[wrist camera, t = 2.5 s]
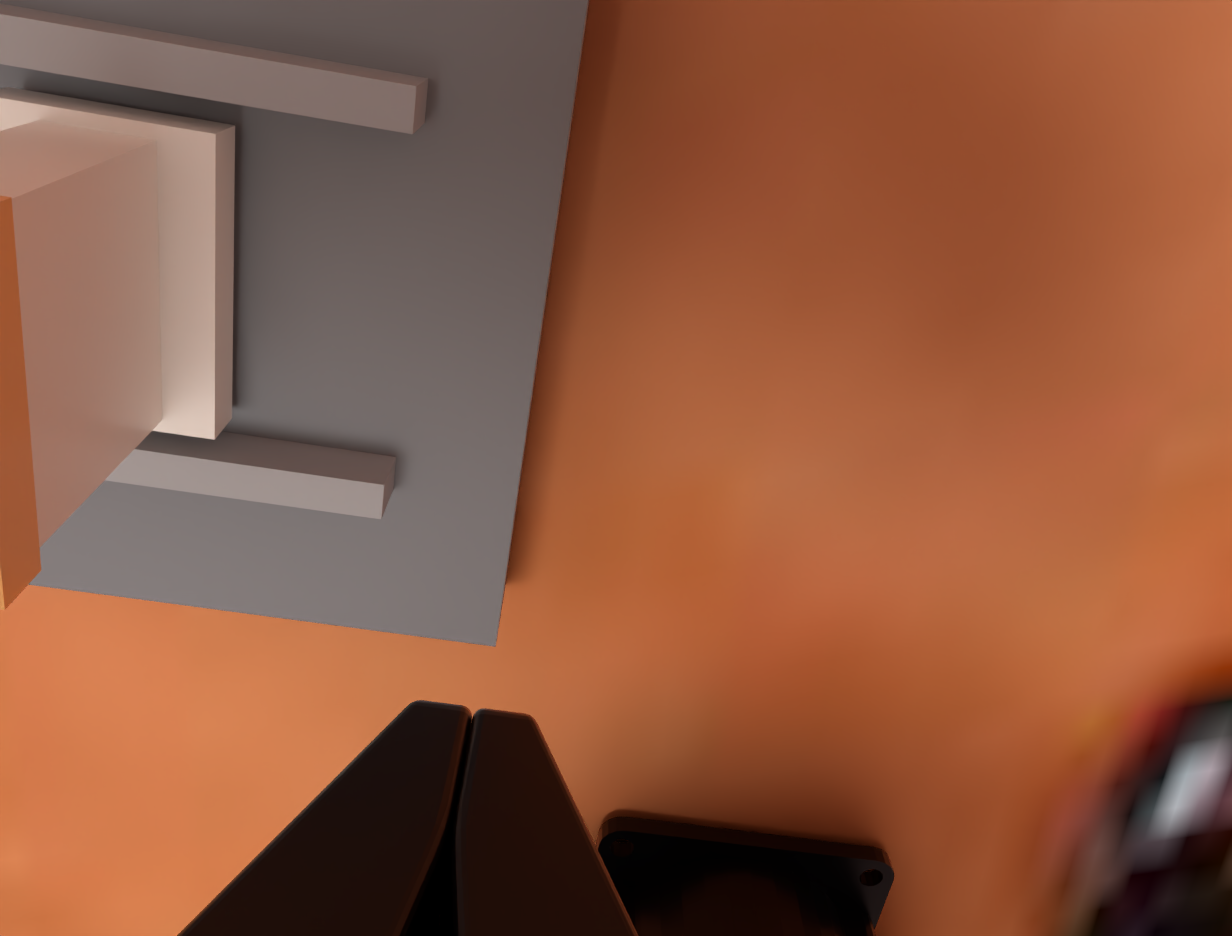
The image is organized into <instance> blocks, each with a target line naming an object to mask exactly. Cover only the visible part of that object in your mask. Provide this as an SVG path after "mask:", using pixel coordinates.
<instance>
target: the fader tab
mask: <svg viewBox="0 0 1232 936" xmlns="http://www.w3.org/2000/svg"><path fill="white" fill-rule="evenodd" d="M234 182H235V125H231V124H225V123H219V122H213V121H207V120H201V119H195V118H189V117H183V116H177V115H171V114H165V113H159V112H154V111H148V110H142V109H136V108H130V107H124V106H118V105H112V104H106V103H100V102H94V101H88V100H82V99H77V98H71V97H65V96H59V95H53V94H47V93H41V92H35V91H29V90H23V89H17V88H11V87H6V88H1V89H0V609H2V610H5V609H6V608H7V607H8V606H9V605H10V604H11V603H12V601H13V600H14V599H15V598H16V597H17V596H18V595H19V594H20V593H21V592H22V591H23V590H24V588H25V587H26V586H27V585H28V584H29V583H30V582H31V581H32V580H33V579H34V578H35V577H36V575H37V574H38V573H39V572H40V571H41V560H40V547H41V546H42V545H43V544H44V543H45V542H46V540H47V539H48V538H49V537H50V536H51V535H52V534H53V533H54V532H55V531H56V530H57V529H58V528H59V527H60V526H61V525H62V524H63V523H64V522H65V521H66V520H67V519H68V518H69V517H70V516H71V514H72V513H73V512H74V511H75V510H76V509H77V508H78V507H79V506H80V505H81V504H82V503H83V502H84V501H85V500H86V499H87V498H88V497H89V496H90V495H91V494H92V493H93V492H94V491H95V490H96V488H97V487H98V486H99V485H100V484H101V483H102V482H103V481H104V480H105V479H106V478H107V477H108V476H109V475H110V474H111V473H112V472H113V471H114V470H115V469H116V468H117V467H118V466H119V465H120V463H121V462H122V461H123V460H124V459H125V458H126V457H127V456H128V455H129V454H130V453H131V452H132V451H133V450H134V449H135V448H136V447H137V446H138V445H139V444H140V443H141V442H142V441H143V440H144V439H145V437H146V436H147V435H148V434H149V433H150V432H151V431H158V432H165V433H172V434H179V435H185V436H192V437H199V438H206V439H213V440H215V439H216V437H217V436H218V435H219V434H220V433H221V431H222V430H223V429H224V428H225V426H226V425H227V424H228V423H229V421H230V420H231V419H232V371H233V277H234Z"/></svg>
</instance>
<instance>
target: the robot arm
mask: <svg viewBox="0 0 1232 936" xmlns="http://www.w3.org/2000/svg"><path fill="white" fill-rule="evenodd" d="M471 721H472V723H471ZM618 839H625V840H628V841H627V842H624V843H619V842H616V840H618ZM868 869H874V870H872V871H870V872H864V871H866V870H868ZM893 880H894V872H893V868H892V865H891V862H890V859H889V857H888V855H887V853H886V852H884V851H883V850H882V849H879V848H876V847H870V846H862V845H854V844H846V843H837V842H829V841H821V840H813V839H804V838H796V837H788V836H780V835H771V834H763V833H755V832H747V831H738V830H730V829H722V828H714V827H705V826H697V825H689V824H681V823H673V822H664V821H656V820H648V819H640V818H631V817H615V818H612V819H609V820H608V821H606V822H605V823H604V824H603V825H602V826H601V828H600V830H599V833H598V838H597V842H596V846H595V844H594V842H593V839H592V837H591V835H590V833H589V831H588V829H587V827H586V825H585V823H584V821H583V818H582V816H581V814H580V812H579V810H578V808H577V806H576V804H575V802H574V800H573V797H572V795H571V793H570V791H569V789H568V787H567V785H566V783H565V781H564V779H563V776H562V774H561V772H560V770H559V768H558V766H557V764H556V762H555V760H554V758H553V755H552V753H551V751H550V749H549V747H548V745H547V743H546V741H545V739H544V736H543V734H542V732H541V730H540V728H539V726H538V724H537V722H536V721H535V719H534V718H533V717H532V716H530V715H528V714H524V713H516V712H508V711H501V710H493V709H480V710H478V711H476V713H475V714H474V715H473V718H472V714H471V712H470V710H469V709H468V708H467V707H465V706H462V705H454V704H447V703H439V702H431V701H424V700H419V701H415V702H412V703H410V704H409V705H408V706H407V707H406V708H405V709H404V710H403V711H402V712H401V713H400V714H399V715H398V716H397V717H396V718H395V719H394V720H393V721H392V722H391V723H390V724H389V725H388V726H387V727H386V728H385V729H384V730H383V731H382V732H381V733H380V734H379V735H378V736H377V737H376V738H375V739H374V740H373V741H372V742H371V743H370V744H369V745H368V746H367V747H366V748H365V749H364V750H363V751H362V752H361V753H360V754H359V755H358V756H357V757H356V758H355V759H354V760H353V761H352V762H351V763H350V764H349V765H348V766H347V767H346V768H345V769H344V770H343V771H342V772H341V773H340V774H339V775H338V776H337V777H336V778H335V779H334V780H333V781H332V782H331V783H330V784H329V785H328V786H327V787H326V788H325V789H324V790H323V791H322V792H321V793H320V794H319V795H318V796H317V797H316V798H315V799H314V800H313V801H312V802H311V803H310V804H309V805H308V806H307V807H306V808H305V809H304V810H303V811H302V812H301V813H300V814H299V815H298V816H297V817H296V818H295V819H294V820H293V821H292V822H291V823H290V824H289V825H288V826H287V827H286V828H285V829H284V830H283V831H282V832H281V833H280V834H279V835H278V836H277V837H275V838H274V839H273V840H272V841H271V842H270V843H269V844H268V845H267V846H266V847H265V848H264V849H263V850H262V851H261V852H260V853H259V854H258V855H257V856H256V857H255V858H254V859H253V860H252V861H251V862H250V863H249V864H248V865H247V866H246V867H245V868H244V869H243V870H242V871H241V872H240V873H239V874H238V875H237V876H236V877H235V878H234V879H233V880H232V881H231V882H230V883H229V884H228V885H227V886H226V887H225V888H224V889H223V890H222V891H221V892H220V893H219V894H218V895H217V896H216V897H215V898H214V899H213V900H212V901H211V902H210V903H209V904H208V905H207V906H206V907H205V908H204V909H203V910H202V911H201V912H200V913H199V914H198V915H197V916H196V917H195V918H194V919H193V920H192V921H191V922H190V923H189V924H188V925H187V926H186V927H185V928H184V929H183V930H182V931H181V932H180V933H179V934H178V935H177V936H876V934H875V931H874V929H875V927H876V924H877V922H878V919H879V916H880V914H881V911H882V909H883V906H884V904H885V901H886V898H887V896H888V893H889V891H890V888H891V885H892V883H893Z"/></svg>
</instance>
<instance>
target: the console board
mask: <svg viewBox="0 0 1232 936" xmlns="http://www.w3.org/2000/svg"><path fill="white" fill-rule="evenodd" d="M588 6H589V0H0V89H1V88H6V87H11V88H17V89H23V90H29V91H35V92H41V93H47V94H53V95H59V96H65V97H71V98H77V99H82V100H88V101H94V102H100V103H106V104H112V105H118V106H124V107H130V108H136V109H142V110H148V111H154V112H159V113H165V114H171V115H177V116H183V117H189V118H195V119H201V120H207V121H213V122H219V123H225V124H231V125H235V182H234V277H233V371H232V419H231V420H230V421H229V423H228V424H227V425H226V426H225V428H224V429H223V430H222V431H221V433H220V434H219V435H218V436H217V437H216V439H215V440H213V439H206V438H199V437H192V436H185V435H179V434H172V433H165V432H158V431H151V432H150V433H149V434H148V435H147V436H146V437H145V439H144V440H143V441H142V442H141V443H140V444H139V445H138V446H137V447H136V448H135V449H134V450H133V451H132V452H131V453H130V454H129V455H128V456H127V457H126V458H125V459H124V460H123V461H122V462H121V463H120V465H119V466H118V467H117V468H116V469H115V470H114V471H113V472H112V473H111V474H110V475H109V476H108V477H107V478H106V479H105V480H104V481H103V482H102V483H101V484H100V485H99V486H98V487H97V488H96V490H95V491H94V492H93V493H92V494H91V495H90V496H89V497H88V498H87V499H86V500H85V501H84V502H83V503H82V504H81V505H80V506H79V507H78V508H77V509H76V510H75V511H74V512H73V513H72V514H71V516H70V517H69V518H68V519H67V520H66V521H65V522H64V523H63V524H62V525H61V526H60V527H59V528H58V529H57V530H56V531H55V532H54V533H53V534H52V535H51V536H50V537H49V538H48V539H47V540H46V542H45V543H44V544H43V545H42V546H41V547H40V560H41V571H40V572H39V573H38V574H37V575H36V577H35V578H34V579H33V580H32V581H31V582H30V583H29V585H36V586H44V587H51V588H59V589H66V590H74V591H81V592H89V593H96V594H104V595H111V596H119V597H126V598H134V599H141V600H149V601H156V602H164V603H171V604H179V605H187V606H194V607H202V608H209V609H217V610H224V611H232V612H239V613H247V614H254V615H262V616H269V617H277V618H284V619H292V620H299V621H307V622H314V623H322V624H329V625H337V626H344V627H352V628H360V629H367V630H375V631H382V632H390V633H397V634H405V635H412V636H420V637H427V638H435V639H442V640H450V641H457V642H465V643H472V644H480V645H487V646H496V640H497V634H498V628H499V622H500V616H501V609H502V603H503V597H504V591H505V584H506V578H507V571H508V564H509V557H510V550H511V543H512V536H513V529H514V522H515V515H516V508H517V501H518V494H519V487H520V480H521V473H522V466H523V459H524V452H525V445H526V438H527V431H528V424H529V417H530V410H531V403H532V396H533V389H534V382H535V375H536V368H537V361H538V355H539V348H540V341H541V334H542V327H543V320H544V313H545V306H546V299H547V292H548V285H549V278H550V271H551V264H552V257H553V250H554V243H555V236H556V229H557V222H558V215H559V208H560V201H561V194H562V187H563V180H564V173H565V166H566V159H567V152H568V145H569V138H570V132H571V125H572V118H573V111H574V104H575V97H576V90H577V83H578V76H579V69H580V62H581V55H582V48H583V41H584V34H585V27H586V20H587V13H588Z"/></svg>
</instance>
